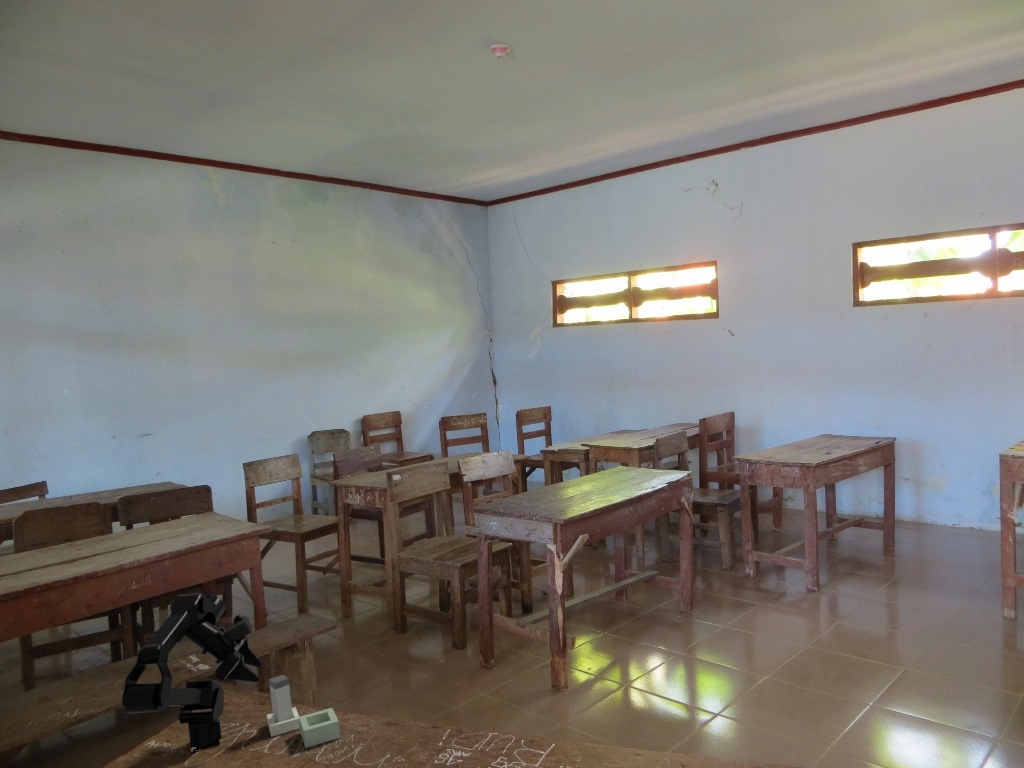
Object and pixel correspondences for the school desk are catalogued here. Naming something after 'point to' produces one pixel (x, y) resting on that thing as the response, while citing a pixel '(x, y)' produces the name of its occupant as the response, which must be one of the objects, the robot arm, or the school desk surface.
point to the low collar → (283, 724)
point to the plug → (280, 698)
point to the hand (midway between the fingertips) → (259, 672)
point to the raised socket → (319, 727)
